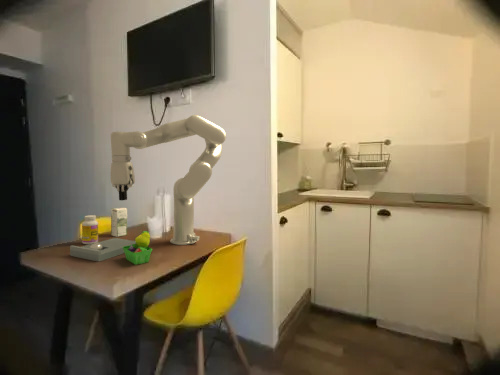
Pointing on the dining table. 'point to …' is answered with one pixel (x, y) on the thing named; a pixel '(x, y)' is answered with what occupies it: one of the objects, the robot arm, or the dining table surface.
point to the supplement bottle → (90, 230)
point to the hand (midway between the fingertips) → (123, 199)
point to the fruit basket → (139, 249)
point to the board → (109, 250)
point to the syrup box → (118, 222)
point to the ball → (96, 246)
